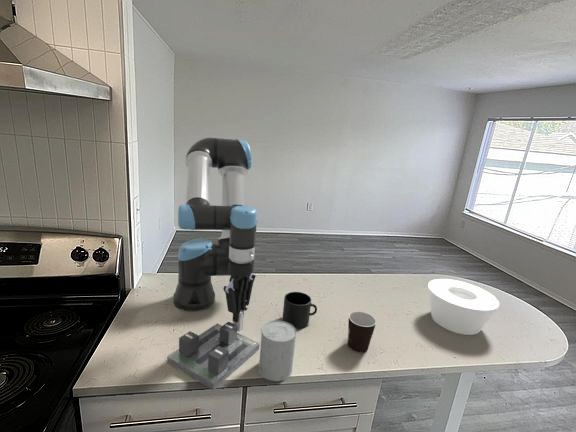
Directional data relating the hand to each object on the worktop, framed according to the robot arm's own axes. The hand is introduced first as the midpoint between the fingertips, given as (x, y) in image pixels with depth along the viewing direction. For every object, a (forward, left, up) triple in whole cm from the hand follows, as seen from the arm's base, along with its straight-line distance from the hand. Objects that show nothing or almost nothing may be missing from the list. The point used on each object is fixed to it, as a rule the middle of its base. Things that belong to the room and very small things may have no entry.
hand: (237, 328), depth 102 cm
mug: (+11, +21, -4) cm, 24 cm away
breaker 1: (-6, -15, -2) cm, 16 cm away
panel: (0, -10, -4) cm, 10 cm away
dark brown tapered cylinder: (+33, +22, -4) cm, 40 cm away
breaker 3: (0, -4, -2) cm, 5 cm away
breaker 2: (+5, -15, -2) cm, 16 cm away
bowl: (+59, +59, -4) cm, 84 cm away
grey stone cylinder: (+17, -4, -4) cm, 18 cm away
